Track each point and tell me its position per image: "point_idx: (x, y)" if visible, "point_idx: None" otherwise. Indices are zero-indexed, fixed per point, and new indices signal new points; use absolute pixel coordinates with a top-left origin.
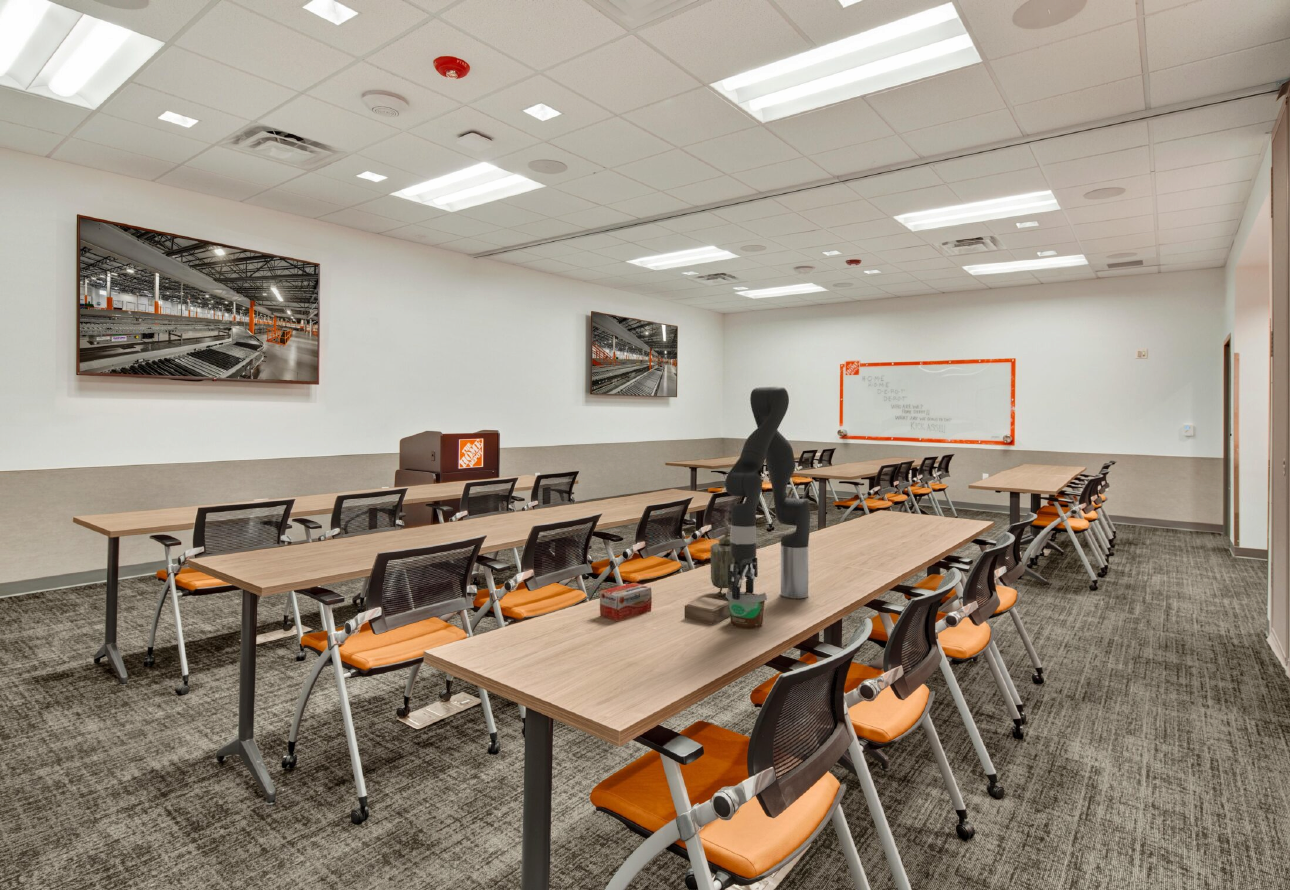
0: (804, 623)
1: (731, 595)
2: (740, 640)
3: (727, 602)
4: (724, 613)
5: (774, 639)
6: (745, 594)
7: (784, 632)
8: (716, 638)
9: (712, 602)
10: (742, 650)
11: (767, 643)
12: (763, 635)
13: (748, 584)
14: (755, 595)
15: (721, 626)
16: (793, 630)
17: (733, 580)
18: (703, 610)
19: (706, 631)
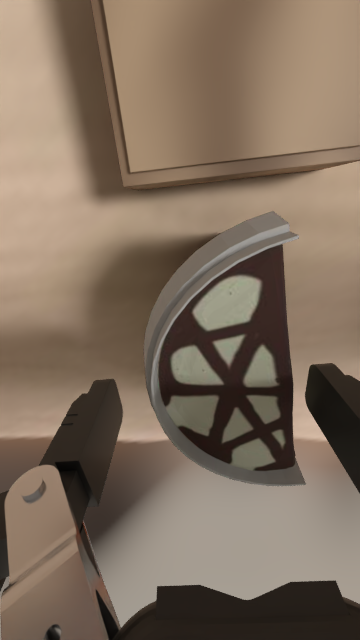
0: None
1: (150, 341)
2: (74, 368)
3: (342, 147)
4: (257, 174)
5: (155, 424)
6: (239, 395)
7: None
8: (22, 304)
9: (281, 35)
10: (19, 407)
11: None
12: None
13: (347, 430)
14: (213, 469)
15: (143, 237)
16: None
17: (30, 542)
18: (110, 96)
19: (44, 226)
